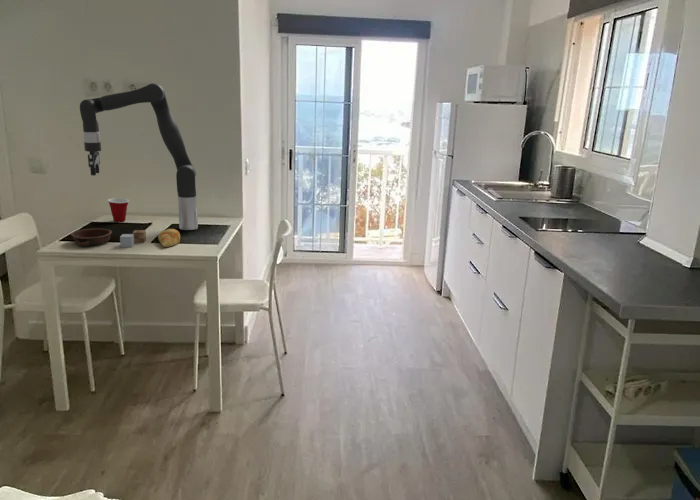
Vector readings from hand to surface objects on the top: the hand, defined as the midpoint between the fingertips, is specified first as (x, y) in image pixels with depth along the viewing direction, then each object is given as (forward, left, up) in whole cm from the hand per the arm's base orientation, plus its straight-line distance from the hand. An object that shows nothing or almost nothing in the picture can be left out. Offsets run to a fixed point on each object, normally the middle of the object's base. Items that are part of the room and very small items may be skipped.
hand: (95, 174), depth 278 cm
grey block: (-20, +33, -29) cm, 48 cm away
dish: (-3, +26, -29) cm, 39 cm away
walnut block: (-24, +25, -29) cm, 45 cm away
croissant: (-38, +28, -29) cm, 55 cm away
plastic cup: (-6, -19, -29) cm, 35 cm away
